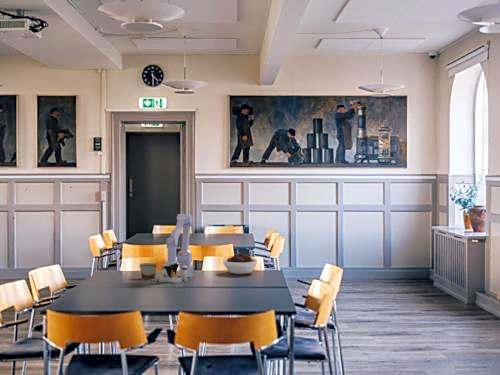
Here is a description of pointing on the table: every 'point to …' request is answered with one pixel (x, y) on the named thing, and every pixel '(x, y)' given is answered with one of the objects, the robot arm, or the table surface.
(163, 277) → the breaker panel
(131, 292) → the table surface
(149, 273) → the food container
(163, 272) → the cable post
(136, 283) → the table surface
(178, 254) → the robot arm
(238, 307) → the table surface
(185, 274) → the cable post
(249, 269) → the white bowl
